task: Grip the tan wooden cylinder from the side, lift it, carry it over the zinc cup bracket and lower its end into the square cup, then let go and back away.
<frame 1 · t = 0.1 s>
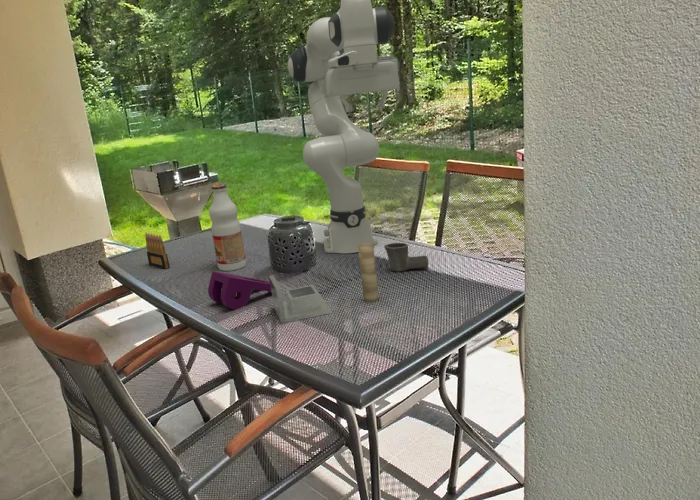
hand: (365, 109, 166), 48 cm above the table, tool pointing down, fingers open, 8 cm apart
mounting bracket: (247, 299, 171), on the table
fruit juice: (232, 267, 201), on the table
tan wooden cylinder: (371, 298, 160), on the table
ammunition clip: (159, 267, 210), on the table
pipe: (407, 270, 180), on the table
cup bracket: (304, 309, 158), on the table
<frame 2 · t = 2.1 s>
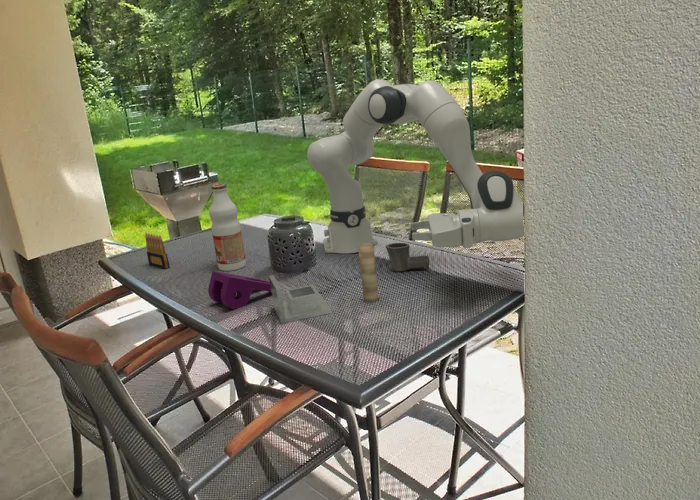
hand: (411, 231, 154), 18 cm above the table, tool horizontal, fingers open, 8 cm apart
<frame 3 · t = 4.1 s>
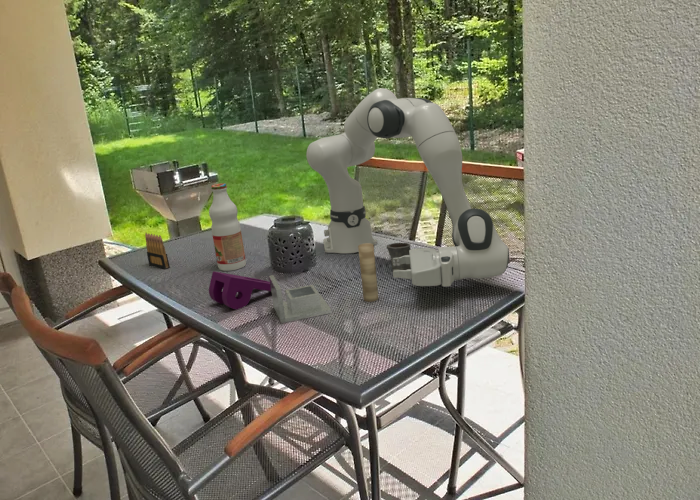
hand: (392, 267, 158), 8 cm above the table, tool horizontal, fingers open, 8 cm apart
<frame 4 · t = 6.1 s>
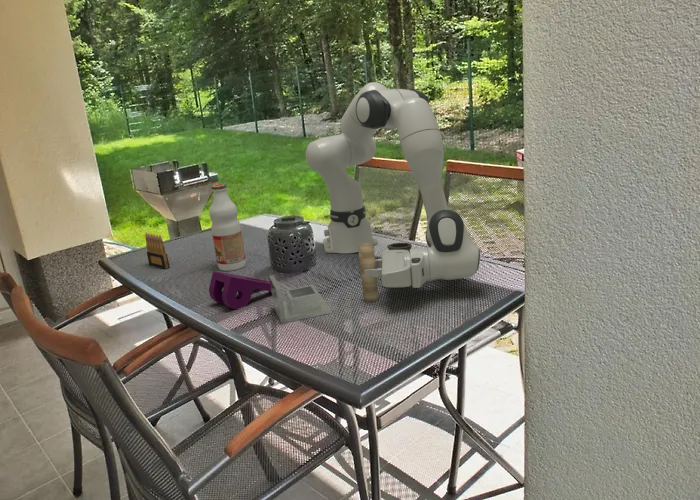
hand: (364, 269, 158), 9 cm above the table, tool horizontal, fingers closed on tan wooden cylinder, 4 cm apart
tan wooden cylinder: (371, 298, 160), on the table, touching gripper
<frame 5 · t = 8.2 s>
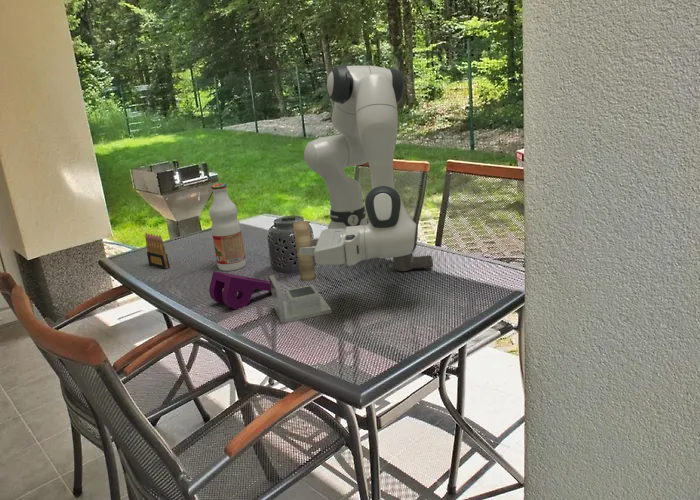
hand: (300, 247, 153), 17 cm above the table, tool horizontal, fingers closed on tan wooden cylinder, 4 cm apart
tan wooden cylinder: (308, 278, 156), point 8 cm above the table, touching gripper
when the fingers open (11 cm above the table, at t = 10.2 s): tan wooden cylinder drops 1 cm, resting on cup bracket.
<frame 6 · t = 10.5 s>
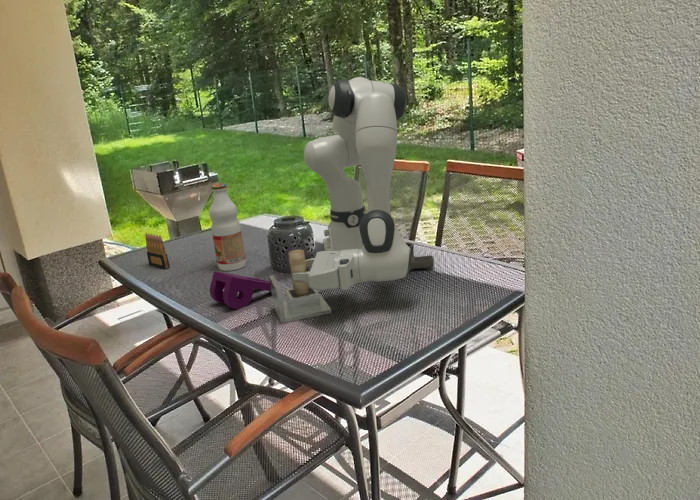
hand: (295, 270, 155), 11 cm above the table, tool horizontal, fingers open, 7 cm apart
tan wooden cylinder: (303, 306, 158), point 1 cm above the table, touching cup bracket
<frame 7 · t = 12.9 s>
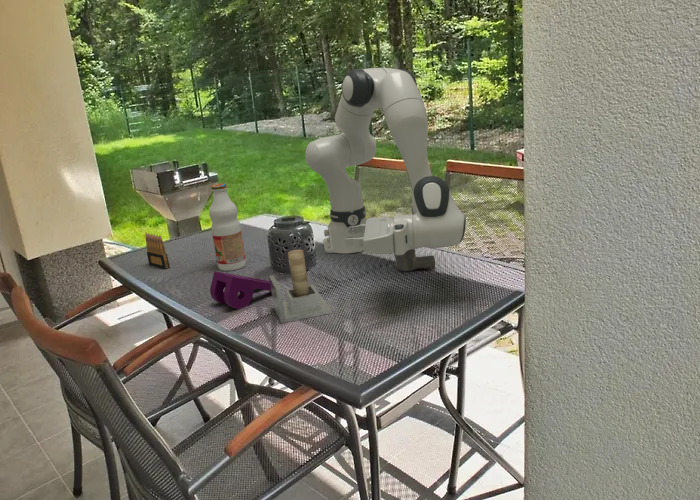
hand: (347, 236, 153), 19 cm above the table, tool horizontal, fingers open, 8 cm apart
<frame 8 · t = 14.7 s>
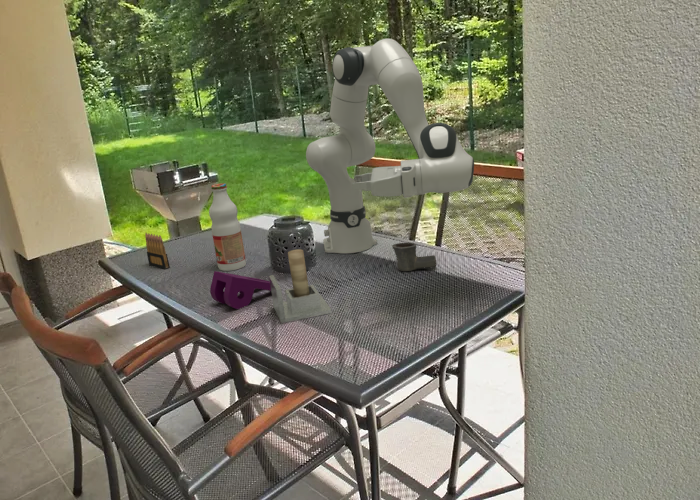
hand: (353, 182, 150), 32 cm above the table, tool horizontal, fingers open, 8 cm apart
at the end: tan wooden cylinder 0.1 cm off-centre on the cup bracket, point 1.0 cm above the cup bracket's base; tan wooden cylinder tilted 0°; the gripper is holding nothing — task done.
